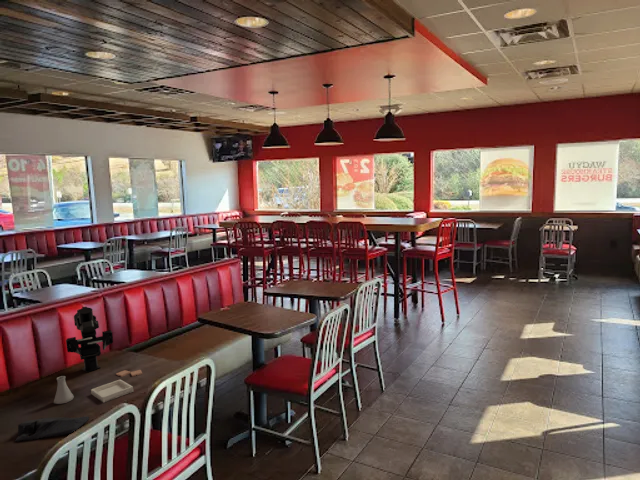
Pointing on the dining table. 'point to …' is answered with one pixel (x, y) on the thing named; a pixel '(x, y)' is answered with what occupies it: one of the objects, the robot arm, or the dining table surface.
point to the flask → (62, 392)
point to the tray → (112, 390)
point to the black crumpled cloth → (49, 427)
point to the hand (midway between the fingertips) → (92, 351)
